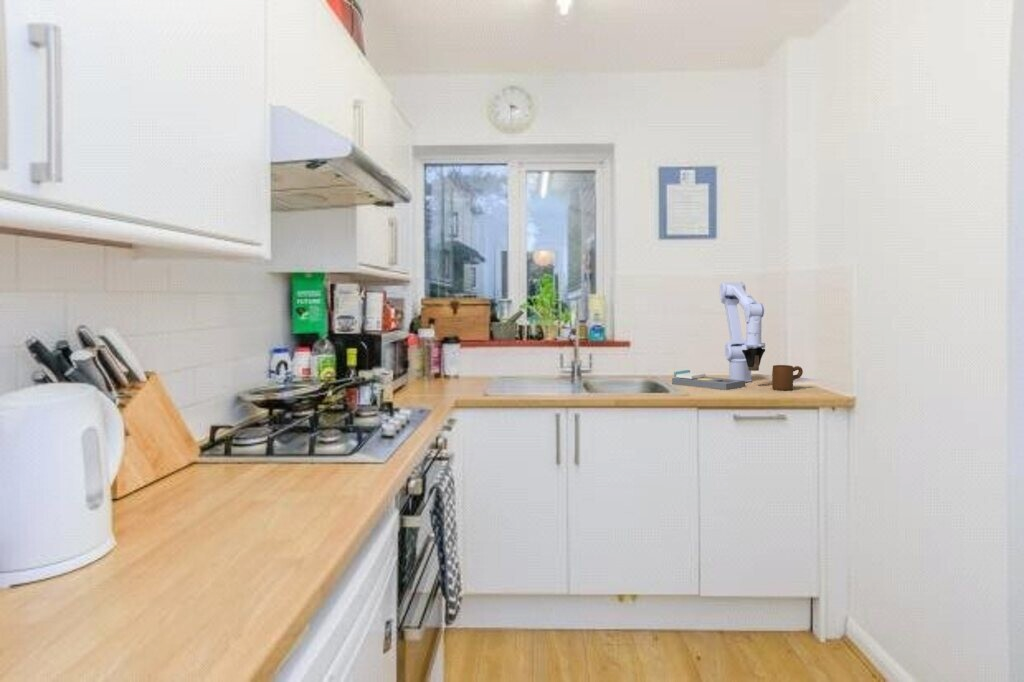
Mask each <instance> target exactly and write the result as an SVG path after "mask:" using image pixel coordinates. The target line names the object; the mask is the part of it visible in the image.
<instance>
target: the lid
mask: <svg viewBox="0 0 1024 682" xmlns="http://www.w3.org/2000/svg"><path fill="white" fill-rule="evenodd" d="M706 375H707V374H706V373H699V372H692V371H691V370H690V369H685V370H684V369H683V370H678V371H673V378H677V377H679V378H689V379H694V378H700V377H707V376H706Z"/></svg>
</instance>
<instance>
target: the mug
mask: <svg viewBox="0 0 1024 682" xmlns="http://www.w3.org/2000/svg"><path fill="white" fill-rule="evenodd" d="M795 371H798V372H797V374H794V372H795ZM803 372H804V371H803V368H802V366H798V365H795V366H793V365H789V364H788V365H787V364H776V365H772V373H771V374H772V376H771V377H772V378H771V381H772V386H771V387H772V390H775V391H782V392H787V391H789V392H790V391H792V390H793V389H794V381H795V380H797V379H800V378H801V377H802V375H803Z"/></svg>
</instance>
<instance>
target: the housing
mask: <svg viewBox="0 0 1024 682" xmlns="http://www.w3.org/2000/svg"><path fill="white" fill-rule="evenodd" d="M671 384H672V385H678V386H688V387H695V388H697V387H698V388H705V389H711V390H712V389H713V390H714V389H715V390H721V391H722V390H723V391H728V390H735V389H738V388H744V387H746V382H745V380H735V379H729V378H723V377H713V376H706V377H700V378H694V379H689V378H679V377H672V378H671Z"/></svg>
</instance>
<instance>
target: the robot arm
mask: <svg viewBox="0 0 1024 682" xmlns="http://www.w3.org/2000/svg"><path fill="white" fill-rule="evenodd" d="M746 288H747V287H746V285H745V283H744V282H743V281H740V282H738V281H736V282H735V281H732V282H724V281H722V282H721V283H720V285H719V289H718V290H719V291H718V293H719V298H720V303H721V304H722V305H724V308H725V316H726V322H727V326H728V332H729V338H730V339H729V340H728V341H727V342H726V344H725V345H724V357H725V359H726V360H727V362H729V365H728V366H729V368H728V372H729V373H728V375H729V377H728V379H735V380H745V383H748V382H753V381H754V380H753V379H752V371H750V370H748V367H753V366H754V359H755V355H759V366H760V365H761V361H762V358H763V356H764V354H765V352H766V342H762V318H763V317H764V315H765V306H764V304H763V303H761V302H760V303H759V302H757V301H756V300H755V299H754V297H753V296H752V295H751V294H747V292H746V291H747V290H746ZM738 305H739V306H741V308H742V309H743V315H744V321H745V323H746V329H745V330H746V333H745V336H746V337H745V338H746V339H744V338H743V334H742V329H741V323H740V317H739V311H738Z"/></svg>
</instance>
